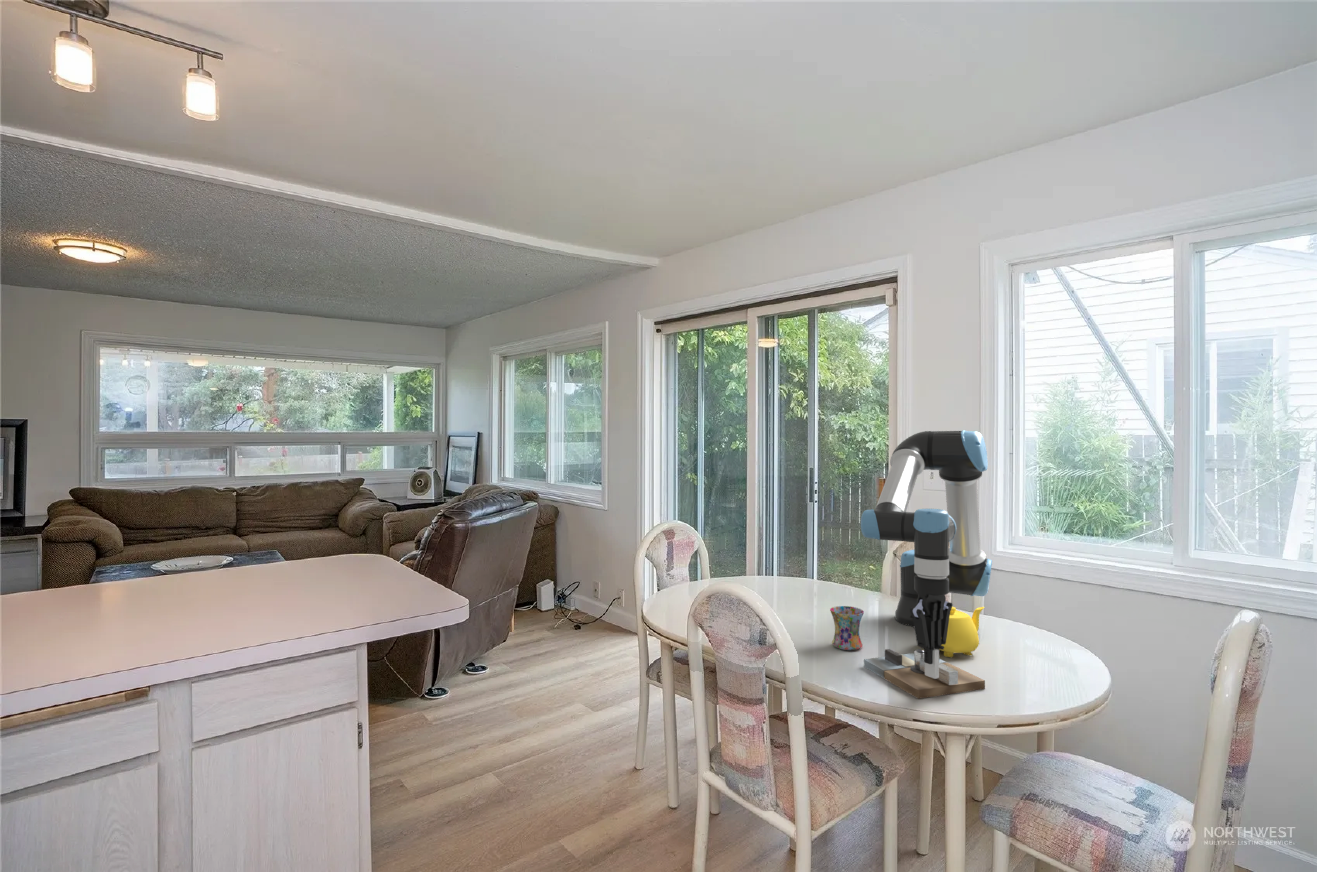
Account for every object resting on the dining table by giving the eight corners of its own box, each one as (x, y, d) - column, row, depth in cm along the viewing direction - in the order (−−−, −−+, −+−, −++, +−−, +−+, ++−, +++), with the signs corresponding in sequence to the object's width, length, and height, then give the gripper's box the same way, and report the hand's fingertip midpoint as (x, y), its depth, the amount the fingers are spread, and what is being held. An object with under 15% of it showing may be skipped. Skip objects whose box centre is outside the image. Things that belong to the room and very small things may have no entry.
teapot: (1001, 656, 173) (1001, 611, 173) (937, 662, 169) (936, 616, 169) (967, 640, 186) (967, 598, 186) (907, 645, 182) (906, 602, 182)
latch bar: (911, 666, 159) (911, 648, 159) (922, 664, 160) (922, 647, 160) (947, 685, 147) (947, 666, 147) (959, 683, 148) (959, 665, 148)
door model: (924, 658, 171) (924, 642, 171) (984, 688, 151) (984, 670, 151) (864, 666, 166) (863, 649, 166) (918, 698, 146) (918, 679, 146)
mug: (867, 653, 176) (867, 615, 176) (834, 652, 177) (833, 614, 177) (857, 639, 188) (857, 603, 188) (825, 638, 189) (825, 603, 189)
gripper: (934, 569, 154) (934, 666, 154) (899, 575, 148) (900, 676, 147) (963, 575, 148) (963, 675, 148) (928, 582, 141) (928, 687, 141)
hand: (931, 676), depth 148 cm, fingers closed
